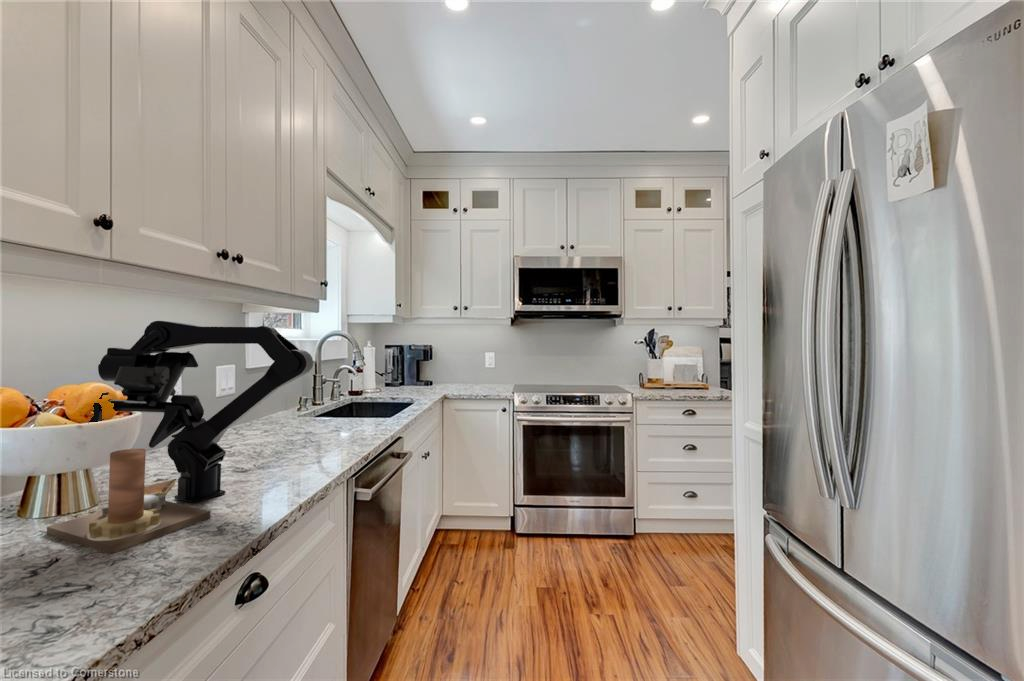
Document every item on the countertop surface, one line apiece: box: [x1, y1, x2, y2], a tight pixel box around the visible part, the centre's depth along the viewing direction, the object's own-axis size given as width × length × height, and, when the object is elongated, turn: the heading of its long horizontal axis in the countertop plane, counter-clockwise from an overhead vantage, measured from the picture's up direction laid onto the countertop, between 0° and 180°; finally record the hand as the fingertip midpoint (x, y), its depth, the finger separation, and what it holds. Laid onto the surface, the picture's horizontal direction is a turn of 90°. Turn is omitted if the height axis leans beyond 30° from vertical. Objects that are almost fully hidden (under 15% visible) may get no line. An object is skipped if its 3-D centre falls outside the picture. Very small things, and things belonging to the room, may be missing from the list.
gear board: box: [46, 493, 211, 555], centre depth 75 cm, size 15×17×4 cm
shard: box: [144, 478, 177, 496], centre depth 91 cm, size 11×8×2 cm
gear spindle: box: [89, 448, 160, 539], centre depth 71 cm, size 9×9×12 cm
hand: (119, 446), depth 75 cm, fingers open, 9 cm apart
